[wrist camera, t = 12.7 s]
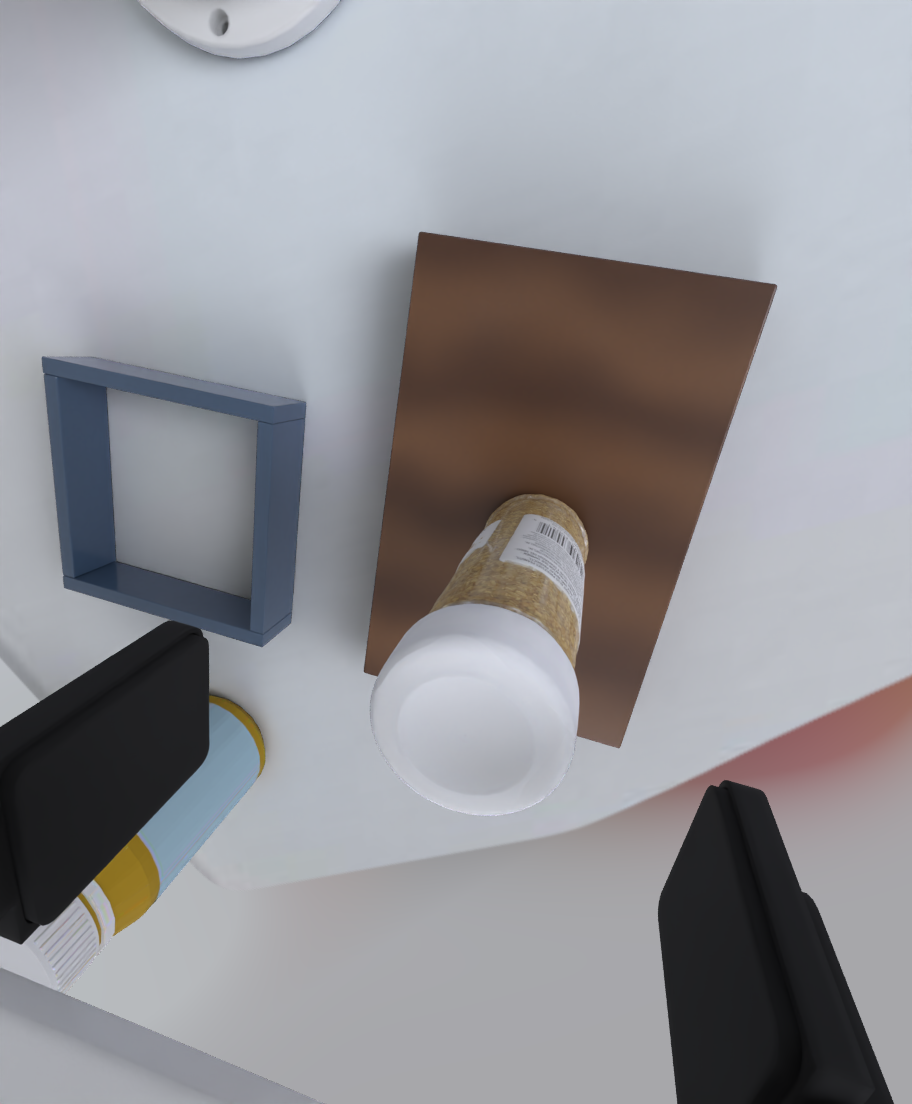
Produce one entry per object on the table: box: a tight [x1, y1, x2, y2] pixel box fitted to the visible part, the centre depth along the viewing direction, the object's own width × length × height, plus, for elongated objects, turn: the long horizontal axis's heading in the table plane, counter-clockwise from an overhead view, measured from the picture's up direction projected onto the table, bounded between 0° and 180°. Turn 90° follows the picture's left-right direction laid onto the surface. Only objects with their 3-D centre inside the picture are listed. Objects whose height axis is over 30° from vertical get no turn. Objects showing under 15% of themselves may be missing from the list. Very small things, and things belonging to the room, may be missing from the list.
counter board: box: [364, 232, 777, 748], centre depth 25 cm, size 20×13×3 cm, turn 170°
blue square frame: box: [42, 356, 306, 647], centre depth 30 cm, size 13×13×3 cm
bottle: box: [0, 695, 265, 994], centre depth 30 cm, size 7×7×15 cm
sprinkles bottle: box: [370, 494, 588, 816], centre depth 18 cm, size 5×5×13 cm
